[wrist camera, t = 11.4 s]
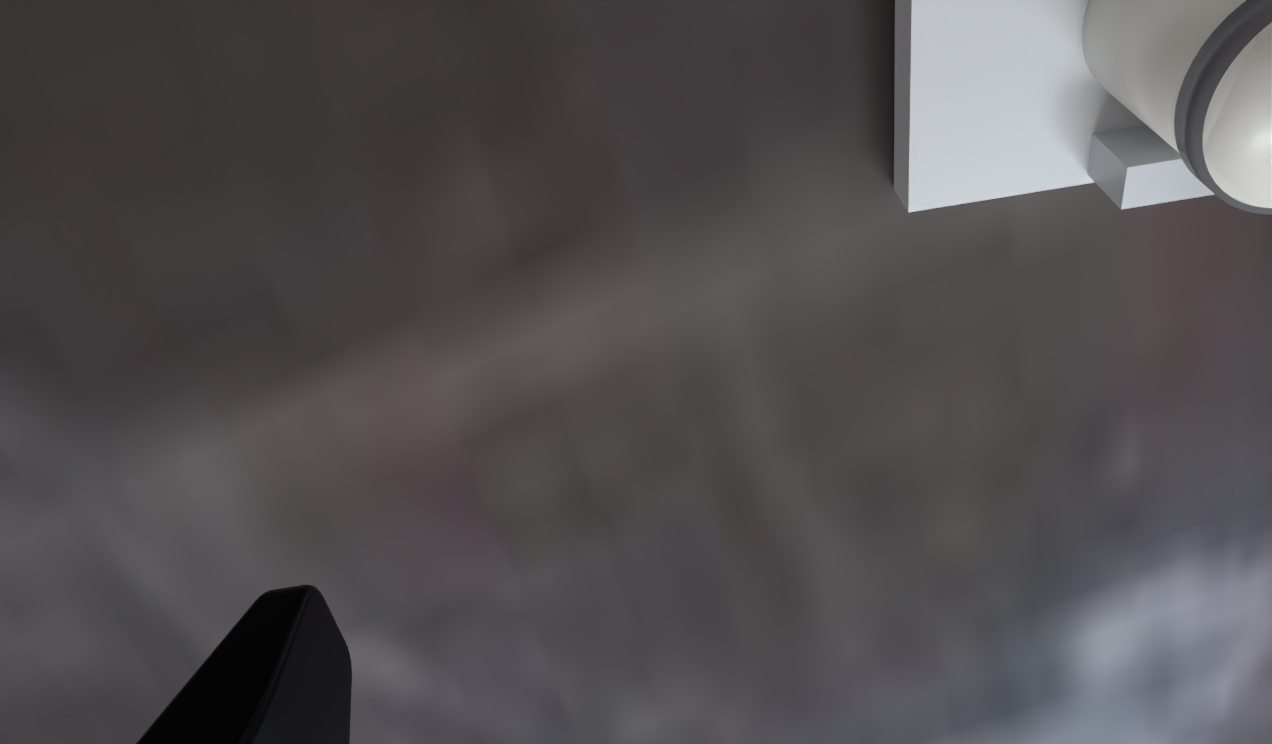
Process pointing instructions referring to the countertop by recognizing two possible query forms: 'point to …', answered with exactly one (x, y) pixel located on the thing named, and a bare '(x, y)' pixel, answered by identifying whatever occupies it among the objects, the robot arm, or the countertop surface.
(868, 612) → the countertop surface
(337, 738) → the robot arm
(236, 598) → the countertop surface
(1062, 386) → the countertop surface
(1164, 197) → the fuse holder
